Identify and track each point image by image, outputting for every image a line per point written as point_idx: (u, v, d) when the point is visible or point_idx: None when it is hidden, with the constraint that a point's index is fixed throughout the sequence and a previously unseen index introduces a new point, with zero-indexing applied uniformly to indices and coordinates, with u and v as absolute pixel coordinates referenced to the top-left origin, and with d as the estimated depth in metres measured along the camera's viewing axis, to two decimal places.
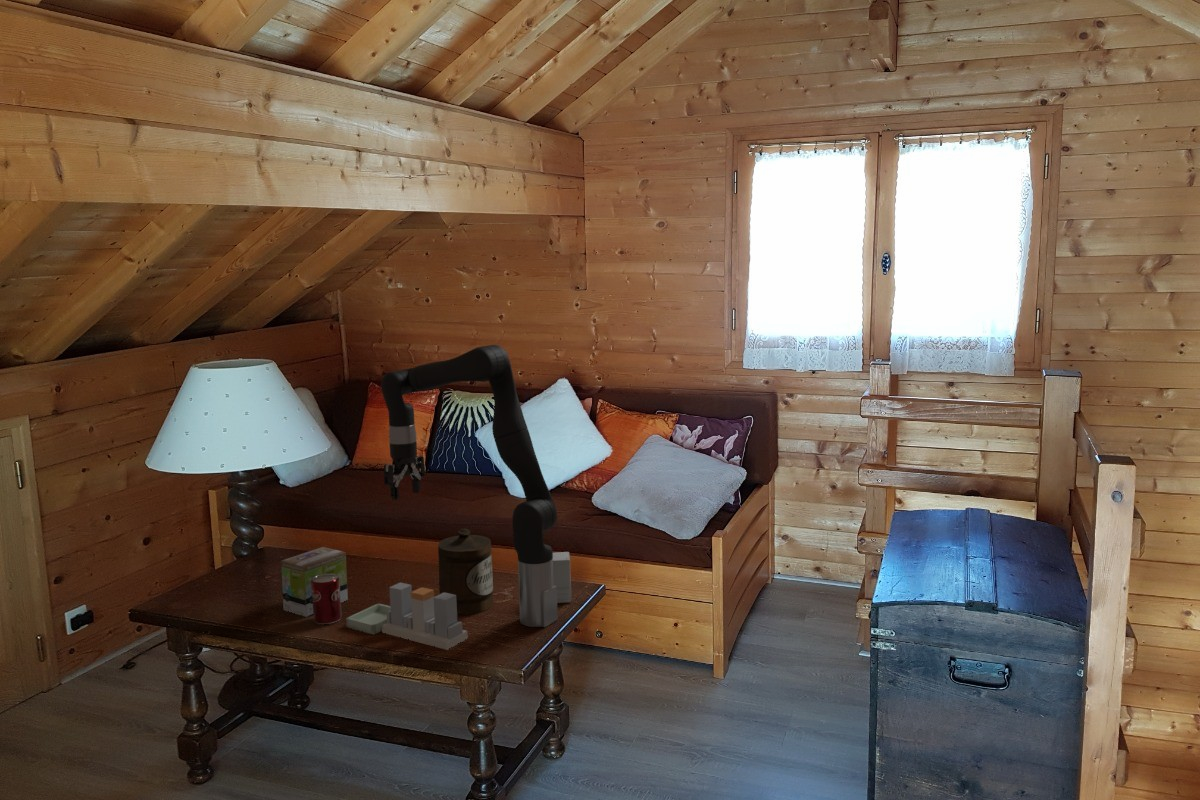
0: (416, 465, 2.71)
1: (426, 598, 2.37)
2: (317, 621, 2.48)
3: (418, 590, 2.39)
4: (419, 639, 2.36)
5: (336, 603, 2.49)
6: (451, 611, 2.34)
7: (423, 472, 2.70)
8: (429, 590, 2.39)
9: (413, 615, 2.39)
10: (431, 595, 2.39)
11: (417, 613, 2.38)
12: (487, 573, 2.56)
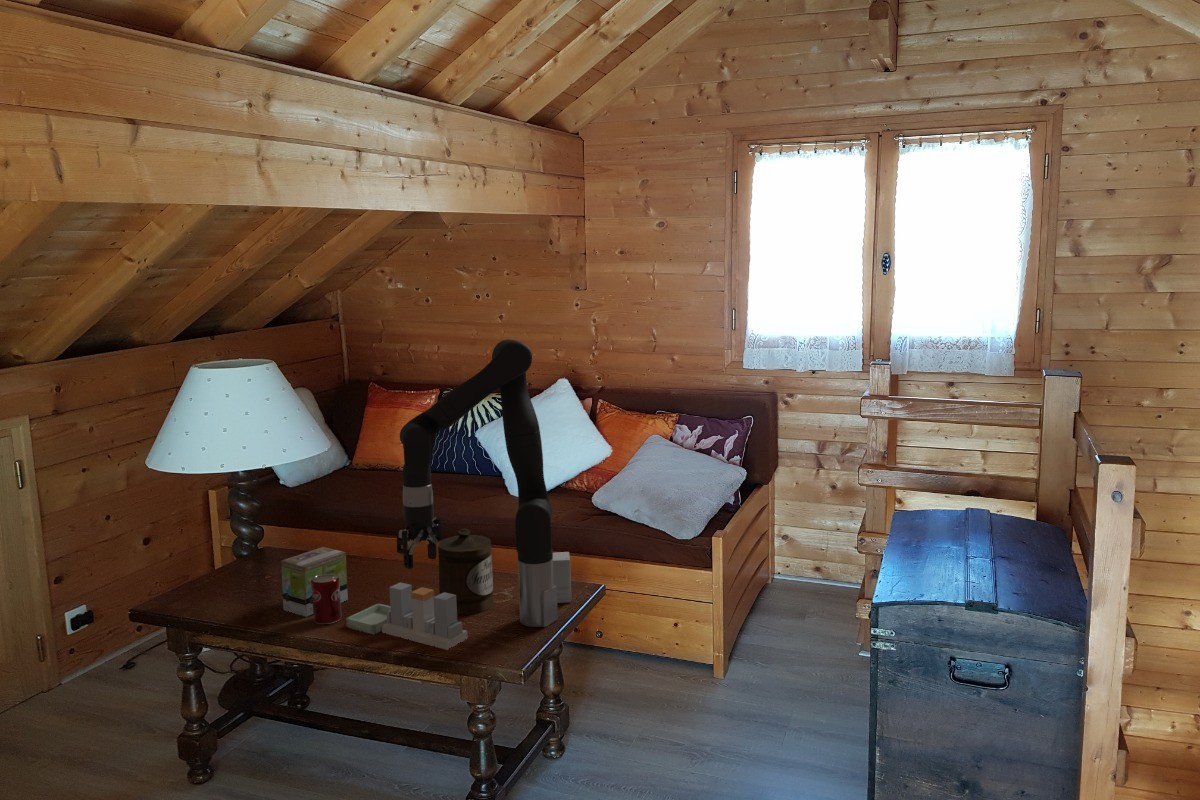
0: (432, 528, 2.41)
1: (426, 598, 2.37)
2: (317, 621, 2.48)
3: (418, 590, 2.39)
4: (419, 639, 2.36)
5: (336, 603, 2.49)
6: (451, 611, 2.34)
7: (440, 536, 2.41)
8: (429, 590, 2.39)
9: (413, 615, 2.39)
10: (431, 595, 2.39)
11: (417, 613, 2.38)
12: (487, 573, 2.56)
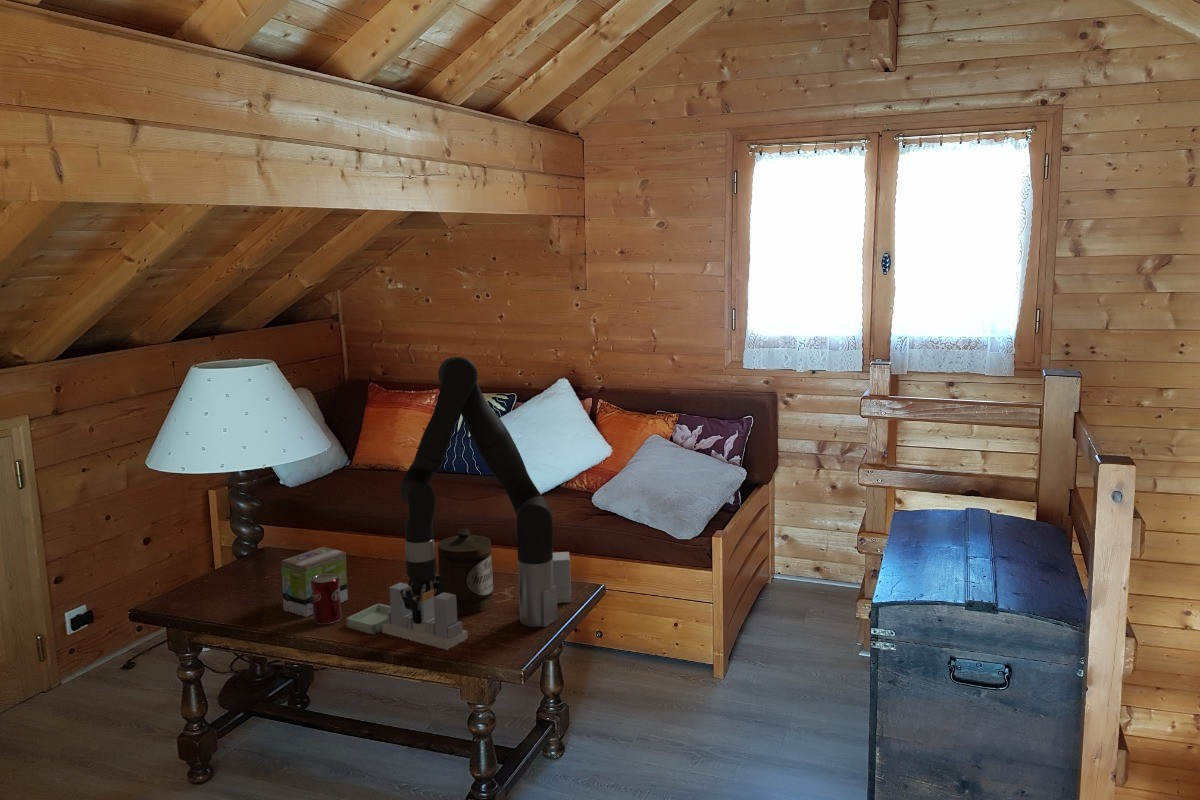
0: (432, 585, 2.43)
1: (426, 598, 2.37)
2: (317, 621, 2.48)
3: None
4: (419, 639, 2.36)
5: (336, 603, 2.49)
6: (451, 611, 2.34)
7: (438, 594, 2.42)
8: (429, 590, 2.39)
9: None
10: (431, 595, 2.39)
11: None
12: (487, 573, 2.56)
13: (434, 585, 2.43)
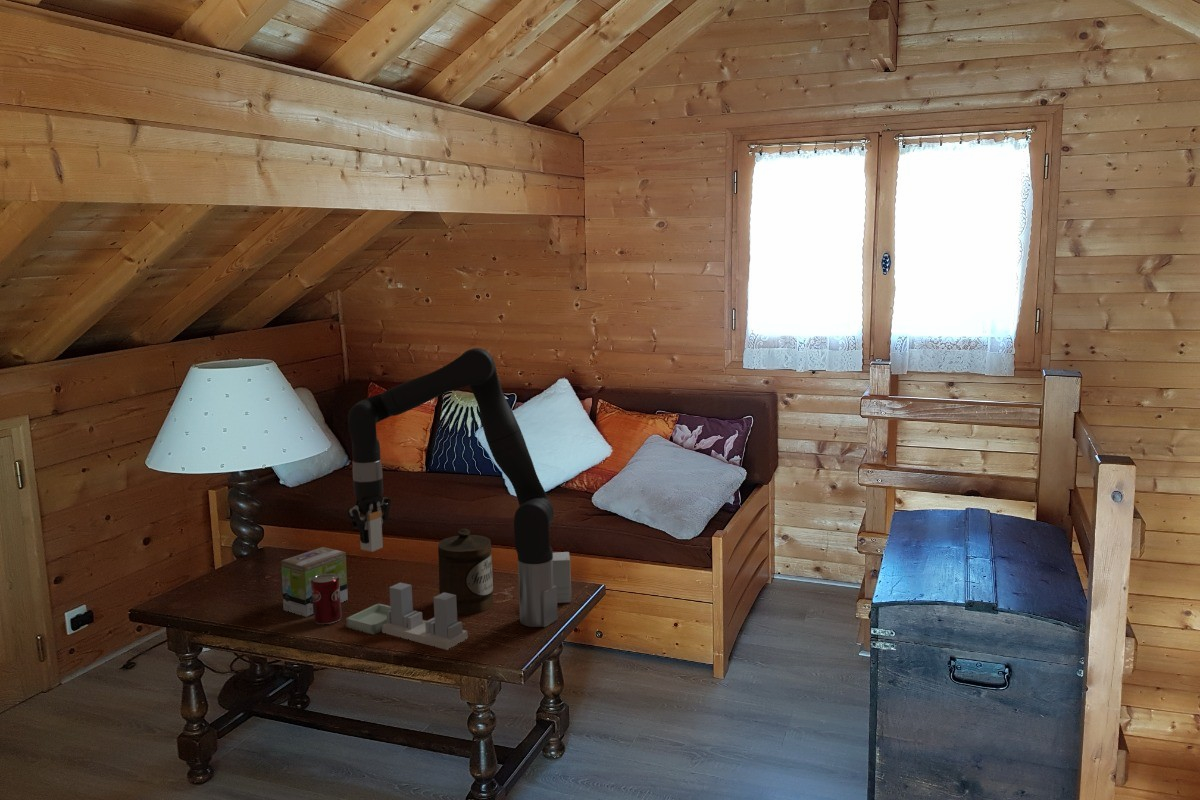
0: (380, 507, 2.49)
1: (373, 518, 2.43)
2: (317, 621, 2.48)
3: None
4: (419, 639, 2.36)
5: (336, 603, 2.49)
6: (451, 611, 2.34)
7: (386, 516, 2.48)
8: (376, 511, 2.45)
9: None
10: (378, 516, 2.44)
11: None
12: (487, 573, 2.56)
13: (382, 507, 2.48)
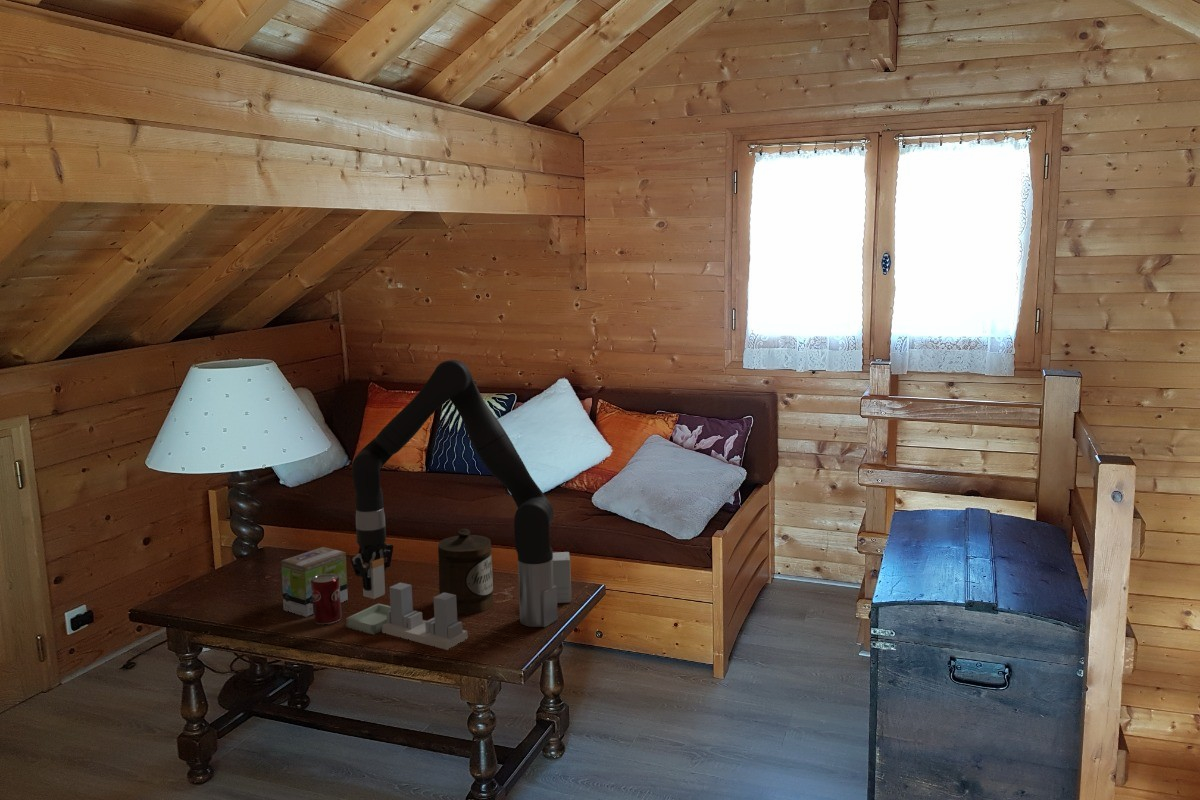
0: (383, 553, 2.51)
1: (376, 566, 2.45)
2: (317, 621, 2.48)
3: None
4: (419, 639, 2.36)
5: (336, 603, 2.49)
6: (451, 611, 2.34)
7: (388, 562, 2.50)
8: None
9: None
10: (381, 563, 2.46)
11: None
12: (487, 573, 2.56)
13: (385, 554, 2.51)
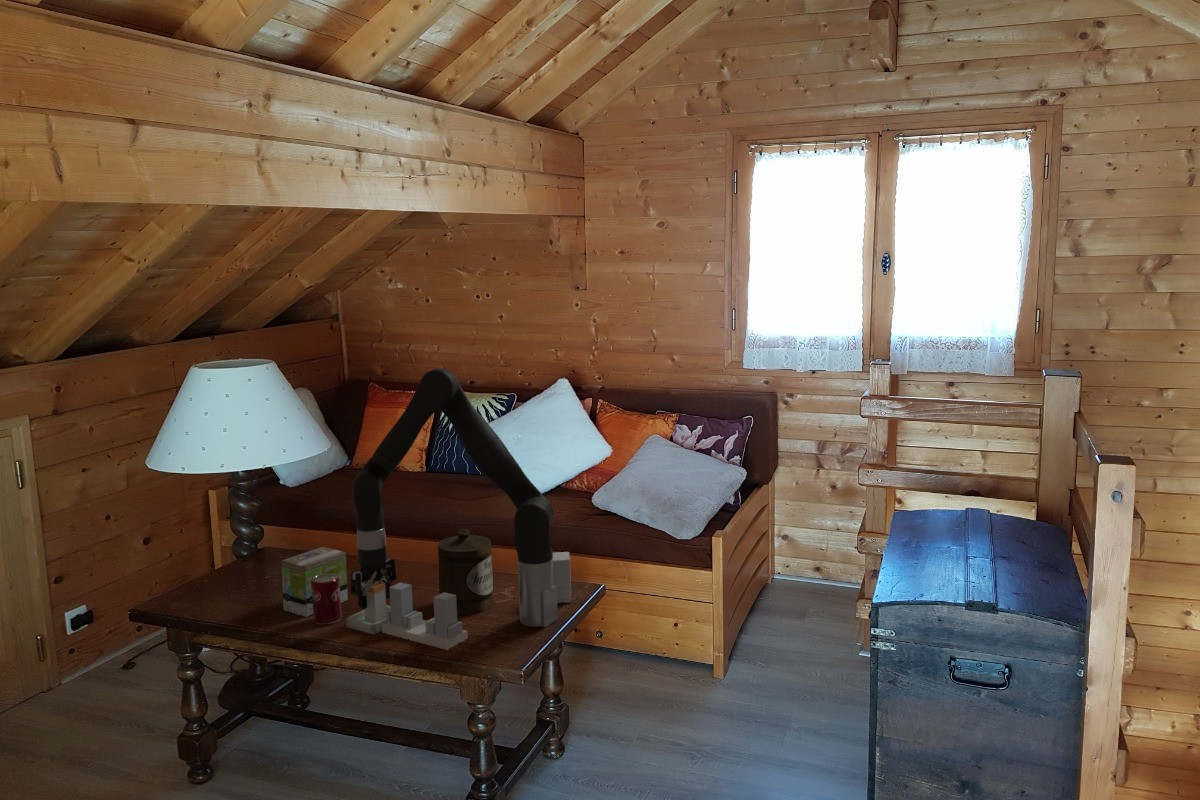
0: (386, 568, 2.52)
1: (377, 591, 2.46)
2: (317, 621, 2.48)
3: None
4: (419, 639, 2.36)
5: (336, 603, 2.49)
6: (451, 611, 2.34)
7: (394, 576, 2.52)
8: (380, 583, 2.48)
9: None
10: (382, 588, 2.48)
11: (368, 606, 2.47)
12: (487, 573, 2.56)
13: (388, 569, 2.52)
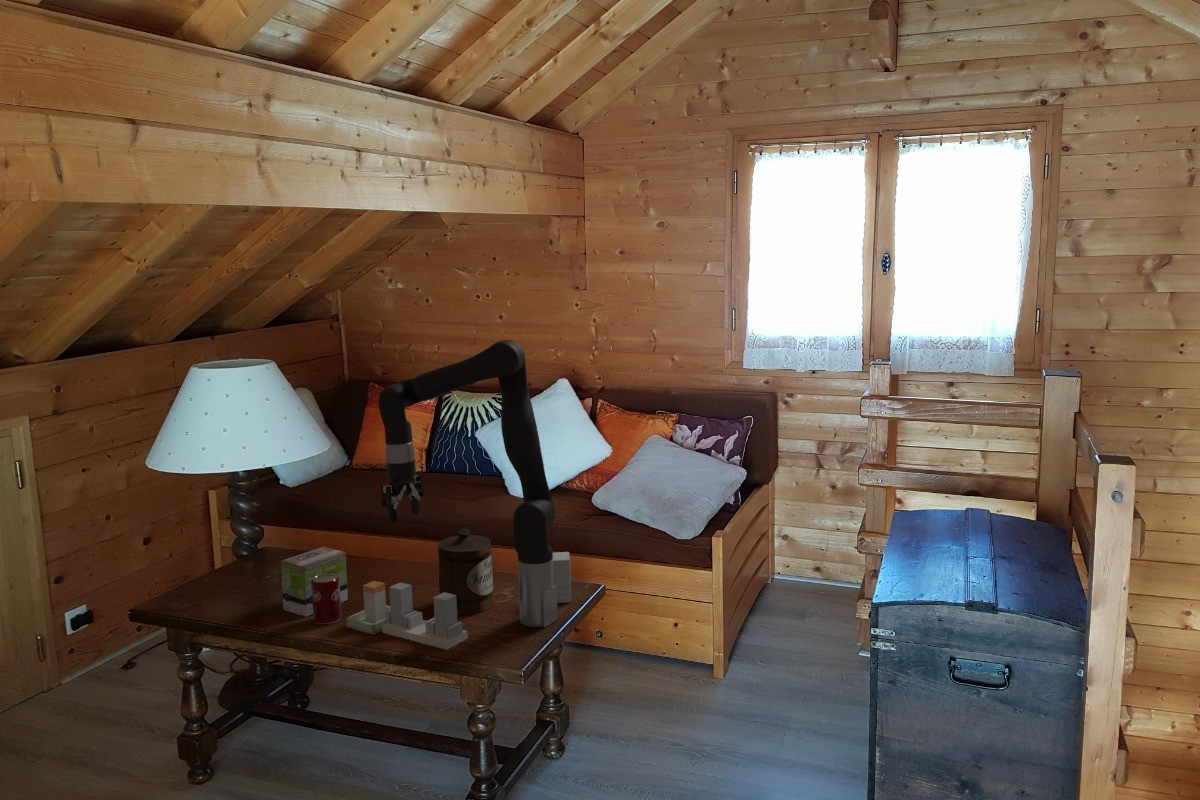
0: (415, 485, 2.54)
1: (377, 591, 2.46)
2: (317, 621, 2.48)
3: (370, 583, 2.48)
4: (419, 639, 2.36)
5: (336, 603, 2.49)
6: (451, 611, 2.34)
7: (422, 492, 2.54)
8: (380, 583, 2.48)
9: (365, 608, 2.47)
10: (382, 588, 2.48)
11: (368, 606, 2.47)
12: (487, 573, 2.56)
13: (416, 485, 2.54)
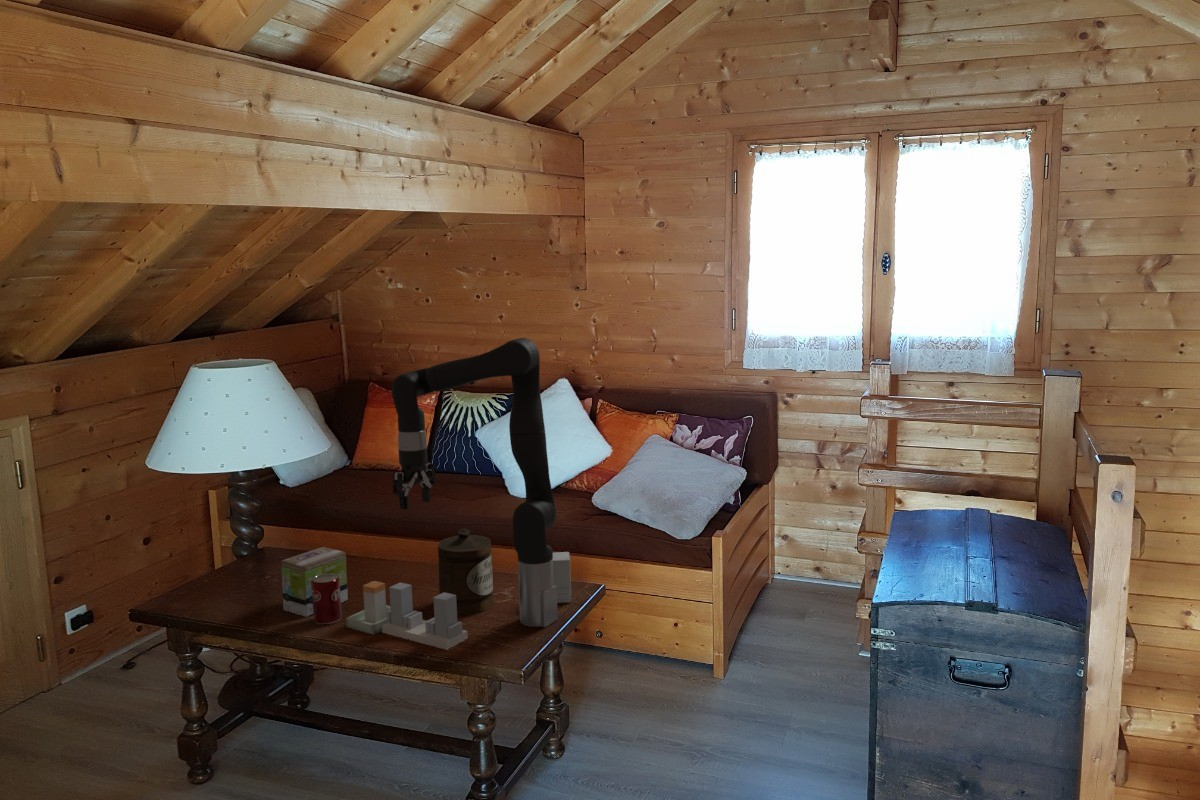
0: (426, 473, 2.56)
1: (377, 591, 2.46)
2: (317, 621, 2.48)
3: (370, 583, 2.48)
4: (419, 639, 2.36)
5: (336, 603, 2.49)
6: (451, 611, 2.34)
7: (433, 480, 2.56)
8: (380, 583, 2.48)
9: (365, 608, 2.47)
10: (382, 588, 2.48)
11: (368, 606, 2.47)
12: (487, 573, 2.56)
13: (428, 473, 2.56)
